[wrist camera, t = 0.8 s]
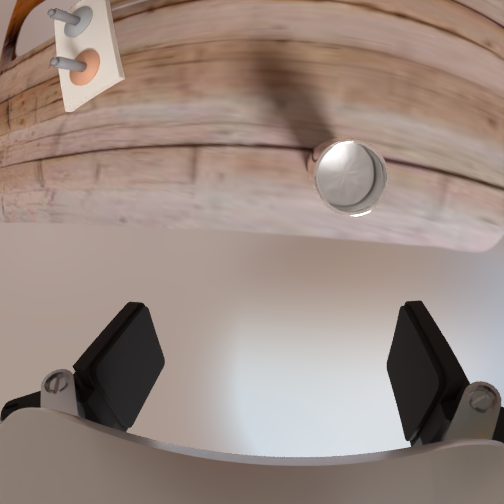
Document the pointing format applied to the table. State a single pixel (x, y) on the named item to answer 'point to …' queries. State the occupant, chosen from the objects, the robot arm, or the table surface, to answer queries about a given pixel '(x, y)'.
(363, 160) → the beer glass
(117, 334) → the robot arm
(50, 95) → the table surface
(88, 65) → the pin board
